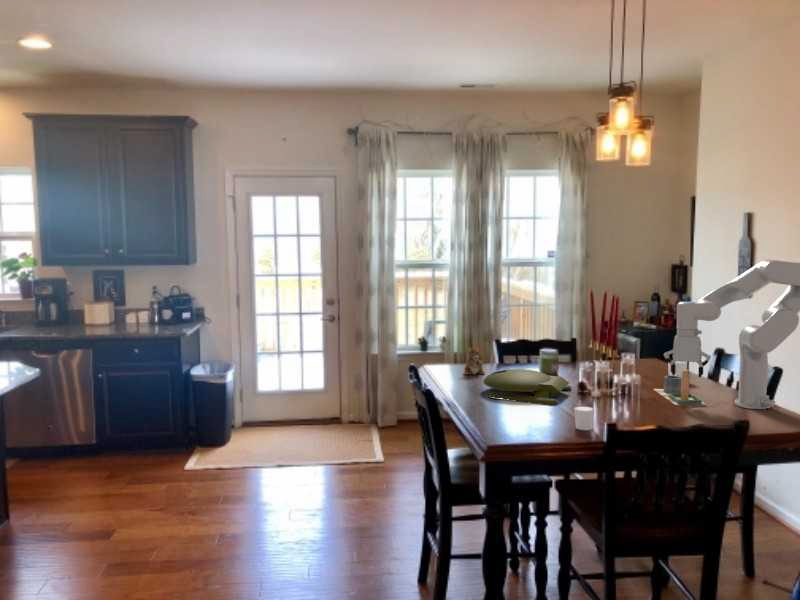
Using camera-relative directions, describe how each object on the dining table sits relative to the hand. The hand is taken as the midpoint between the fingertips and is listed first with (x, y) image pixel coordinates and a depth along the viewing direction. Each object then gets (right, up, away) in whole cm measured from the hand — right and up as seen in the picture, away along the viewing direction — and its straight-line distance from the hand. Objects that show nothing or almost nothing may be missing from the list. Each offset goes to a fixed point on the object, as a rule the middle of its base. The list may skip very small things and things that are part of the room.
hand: (686, 375), depth 253 cm
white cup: (+11, -8, +34) cm, 37 cm away
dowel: (0, -10, +1) cm, 10 cm away
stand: (0, -11, +8) cm, 13 cm away
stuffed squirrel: (-77, -6, +63) cm, 100 cm away
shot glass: (-49, -15, -29) cm, 60 cm away
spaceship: (-61, -11, +22) cm, 65 cm away
